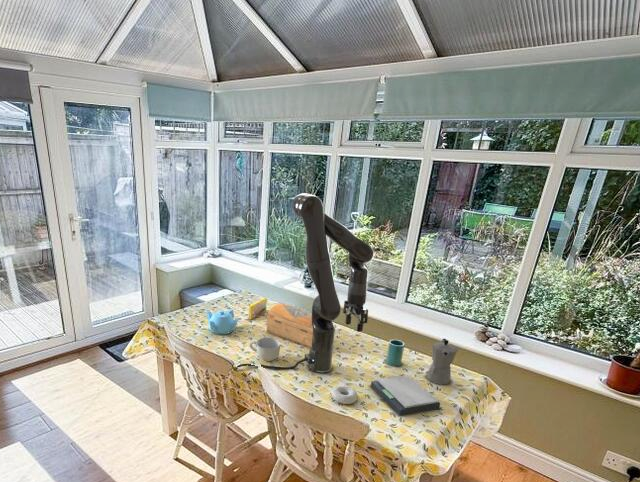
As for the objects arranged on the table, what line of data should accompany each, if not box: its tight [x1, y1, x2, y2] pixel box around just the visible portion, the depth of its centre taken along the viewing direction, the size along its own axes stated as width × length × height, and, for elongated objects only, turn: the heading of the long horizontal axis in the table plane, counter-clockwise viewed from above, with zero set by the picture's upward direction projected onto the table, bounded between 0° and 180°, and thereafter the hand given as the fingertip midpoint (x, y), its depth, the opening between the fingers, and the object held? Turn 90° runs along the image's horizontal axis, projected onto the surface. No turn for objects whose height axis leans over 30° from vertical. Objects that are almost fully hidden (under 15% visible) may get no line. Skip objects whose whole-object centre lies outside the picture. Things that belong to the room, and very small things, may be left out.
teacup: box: [249, 336, 281, 362], centre depth 186 cm, size 14×11×8 cm
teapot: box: [205, 308, 239, 336], centre depth 213 cm, size 15×15×11 cm
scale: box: [370, 374, 441, 416], centre depth 159 cm, size 17×20×3 cm
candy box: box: [248, 297, 268, 321], centre depth 233 cm, size 16×2×8 cm, turn 147°
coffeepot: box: [426, 338, 459, 385], centre depth 170 cm, size 15×9×18 cm, turn 159°
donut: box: [330, 385, 359, 405], centre depth 158 cm, size 10×3×10 cm
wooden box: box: [266, 302, 334, 348], centre depth 207 cm, size 30×16×14 cm, turn 49°
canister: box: [385, 339, 405, 367], centre depth 183 cm, size 6×6×10 cm
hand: (353, 327), depth 176 cm, fingers open, 8 cm apart
